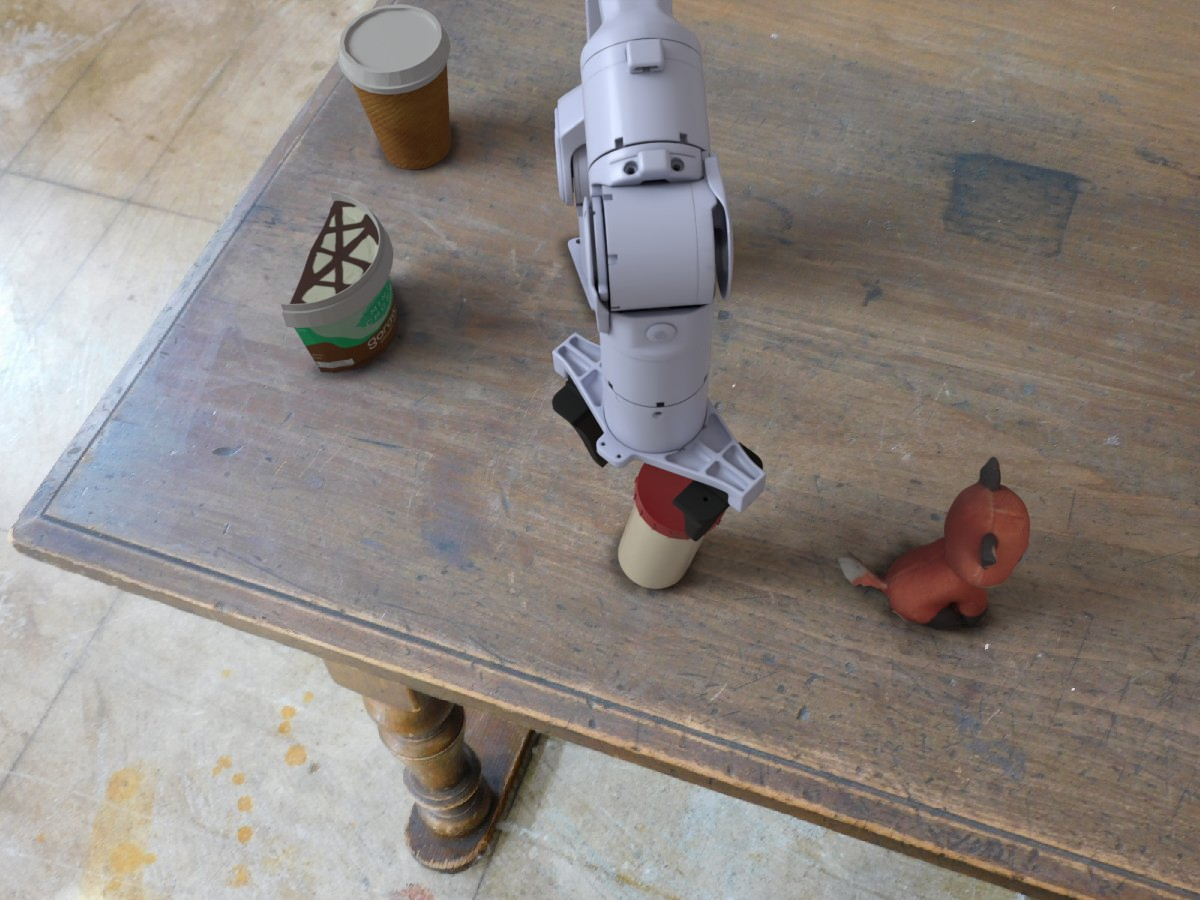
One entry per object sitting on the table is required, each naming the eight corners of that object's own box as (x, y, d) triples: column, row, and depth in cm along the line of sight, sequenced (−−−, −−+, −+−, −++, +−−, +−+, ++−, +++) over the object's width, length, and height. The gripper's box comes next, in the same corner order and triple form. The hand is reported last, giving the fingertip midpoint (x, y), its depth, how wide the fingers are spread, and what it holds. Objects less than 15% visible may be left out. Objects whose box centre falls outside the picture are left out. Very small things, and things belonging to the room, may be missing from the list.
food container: (387, 398, 86) (358, 321, 77) (314, 386, 87) (278, 309, 78) (430, 278, 92) (407, 195, 83) (361, 269, 93) (332, 186, 84)
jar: (676, 515, 79) (707, 447, 70) (698, 579, 77) (733, 519, 67) (609, 530, 78) (631, 463, 68) (630, 596, 76) (656, 537, 66)
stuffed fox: (831, 532, 78) (859, 449, 68) (988, 538, 78) (1041, 455, 67) (836, 630, 75) (867, 557, 64) (1002, 637, 74) (1059, 565, 64)
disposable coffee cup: (488, 132, 101) (470, 23, 90) (427, 197, 97) (400, 91, 86) (408, 96, 103) (381, -13, 93) (345, 158, 100) (310, 51, 89)
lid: (706, 445, 71) (710, 436, 69) (739, 527, 68) (744, 519, 67) (620, 466, 69) (623, 457, 68) (651, 550, 67) (654, 543, 66)
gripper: (505, 335, 58) (529, 465, 70) (710, 492, 52) (699, 605, 64) (596, 261, 61) (604, 398, 72) (800, 403, 55) (774, 527, 67)
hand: (654, 491), depth 68 cm, fingers open, 7 cm apart
